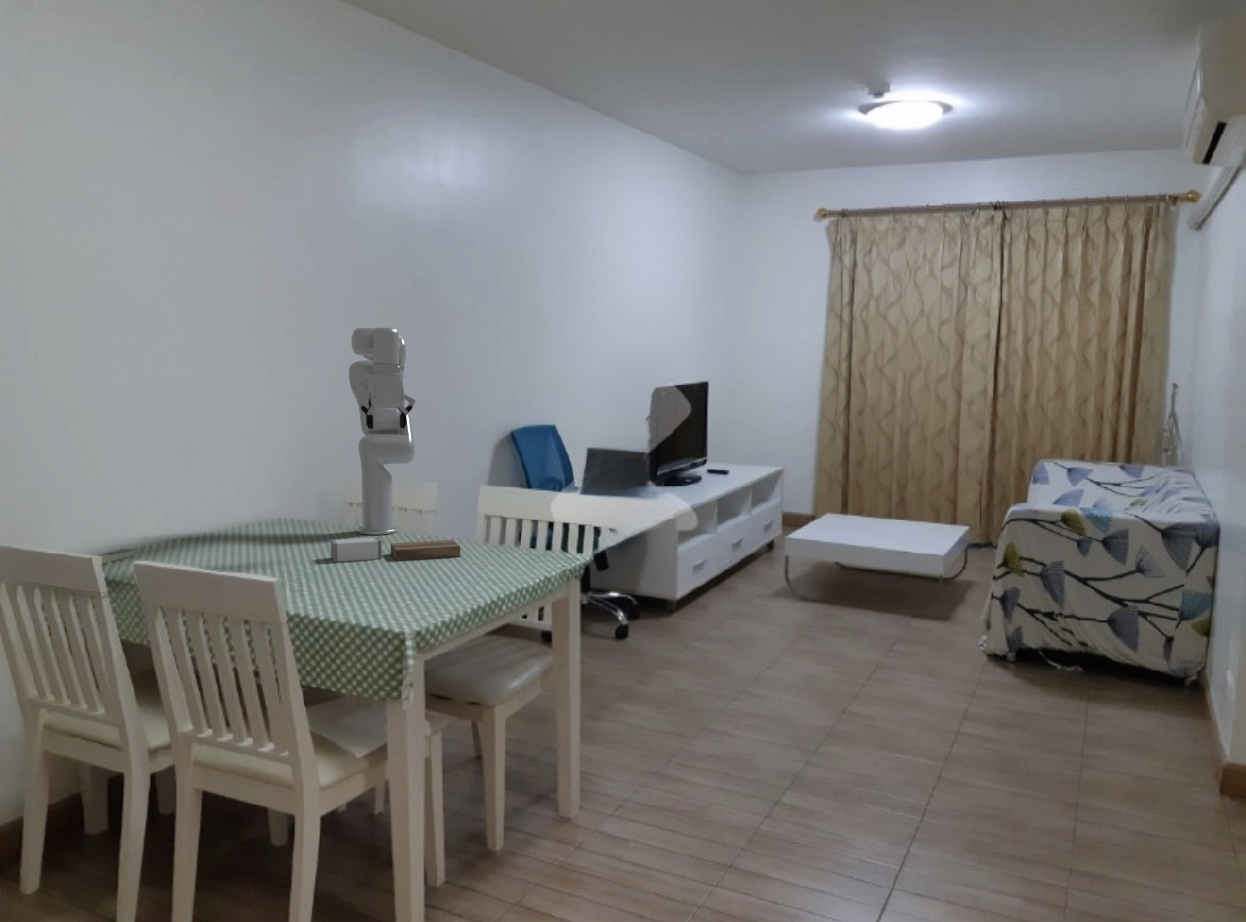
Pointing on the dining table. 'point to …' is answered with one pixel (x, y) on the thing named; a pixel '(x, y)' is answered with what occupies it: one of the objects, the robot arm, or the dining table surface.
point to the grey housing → (356, 549)
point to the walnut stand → (425, 550)
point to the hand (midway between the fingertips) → (386, 428)
